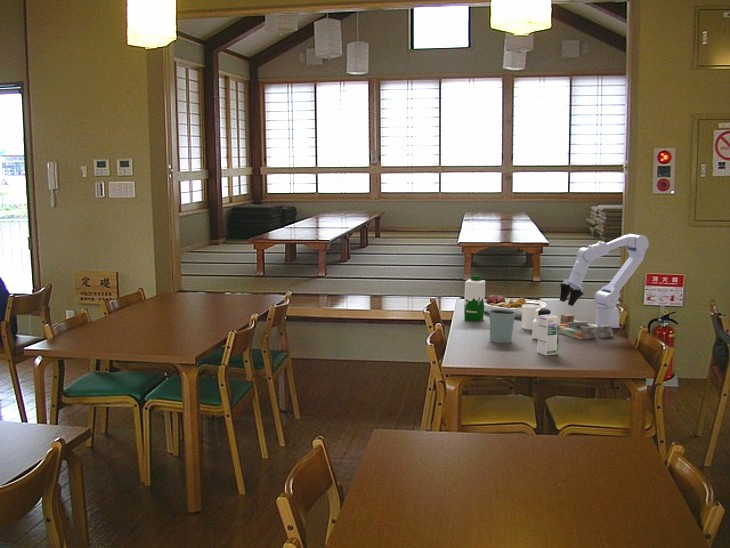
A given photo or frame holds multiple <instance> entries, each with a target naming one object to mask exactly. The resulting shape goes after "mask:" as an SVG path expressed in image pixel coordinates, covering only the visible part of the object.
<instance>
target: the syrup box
mask: <svg viewBox="0 0 730 548" xmlns="http://www.w3.org/2000/svg"><path fill="white" fill-rule="evenodd" d="M559 324H560V316H558V315H555V314H551V313H550V315H539V316H538V339H537V342H536V343H537V346H536V347H537V348H536V352H537V353H538V354H540V355H542V356H543V355H544V356H552V355H559V346H560V345H559V343H560V342H559V340H560V338H559V336H560V333H559Z"/></svg>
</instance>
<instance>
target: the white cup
mask: <svg viewBox="0 0 730 548" xmlns="http://www.w3.org/2000/svg"><path fill="white" fill-rule="evenodd" d="M539 308H540V306H539V305H534V304H524V305H522V318H521V325H522V326H521V328H522V329H523V330H530V331H531V330H532V325H533V321H534V320H535V310H536V309H539Z"/></svg>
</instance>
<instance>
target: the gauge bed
mask: <svg viewBox="0 0 730 548" xmlns="http://www.w3.org/2000/svg"><path fill="white" fill-rule="evenodd" d="M578 321H579V320H576V319H574V322H578ZM612 329H613V328H612V326H611V325H599V326H594V325H592V323H591V324H590V323H588V326H587V327H582V330H581V331H578V330H574V329H571V328H567V327H564V326H561V327H559V334H562V335H565V336H569V337H571V338H575V339H577V340H589V339H590V340H591V339H596V336H597V338H602V339H603V338H610V337H613V332H614V330H612ZM596 334H597V335H596Z"/></svg>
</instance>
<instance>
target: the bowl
mask: <svg viewBox="0 0 730 548" xmlns="http://www.w3.org/2000/svg"><path fill="white" fill-rule="evenodd" d="M524 304H534V305H539V306H540V308H544V309H547V304H546V303H545V302H543V301H539V300H535V299H528V298H524V297H520V298H514V297H513V298H510V297H509V298H508V297H504V296H502V295H495V294H490V295H488V296H487V297H486V298H485V305H484V312H486V313H488V314H489V311H490V310H510V311H514V312H515V318H514V319H516V318H517V319H519V318H520V319H522V305H524Z"/></svg>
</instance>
